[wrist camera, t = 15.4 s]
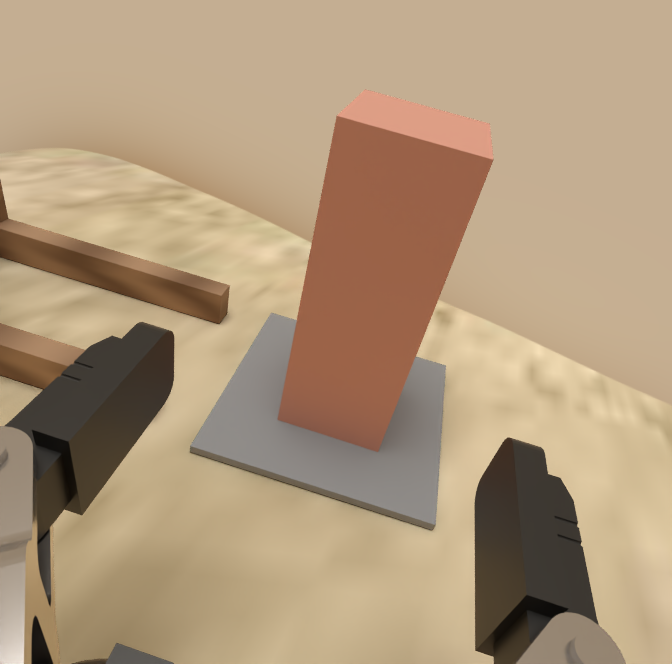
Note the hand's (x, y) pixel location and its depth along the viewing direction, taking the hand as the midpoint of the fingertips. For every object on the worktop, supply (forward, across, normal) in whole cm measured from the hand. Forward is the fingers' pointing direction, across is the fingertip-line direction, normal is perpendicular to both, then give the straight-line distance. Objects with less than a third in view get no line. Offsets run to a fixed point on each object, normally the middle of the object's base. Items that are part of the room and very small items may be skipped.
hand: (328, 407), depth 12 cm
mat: (+10, 0, +10) cm, 14 cm away
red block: (+10, 0, +10) cm, 14 cm away
